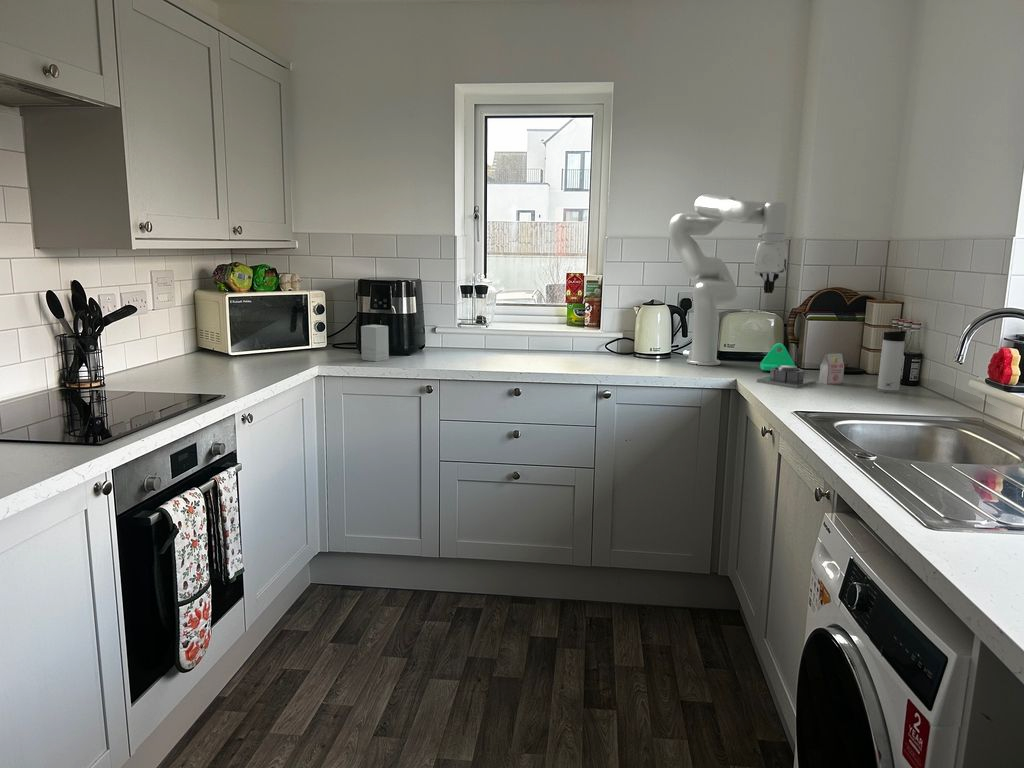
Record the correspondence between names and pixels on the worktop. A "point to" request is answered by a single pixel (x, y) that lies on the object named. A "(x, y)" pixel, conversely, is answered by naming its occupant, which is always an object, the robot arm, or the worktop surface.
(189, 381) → the worktop surface
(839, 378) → the milk carton
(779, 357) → the green triangle piece
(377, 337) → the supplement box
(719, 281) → the robot arm
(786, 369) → the dark grey rounded block
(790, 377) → the grey square base
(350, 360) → the worktop surface
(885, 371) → the travel mug
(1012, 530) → the worktop surface
